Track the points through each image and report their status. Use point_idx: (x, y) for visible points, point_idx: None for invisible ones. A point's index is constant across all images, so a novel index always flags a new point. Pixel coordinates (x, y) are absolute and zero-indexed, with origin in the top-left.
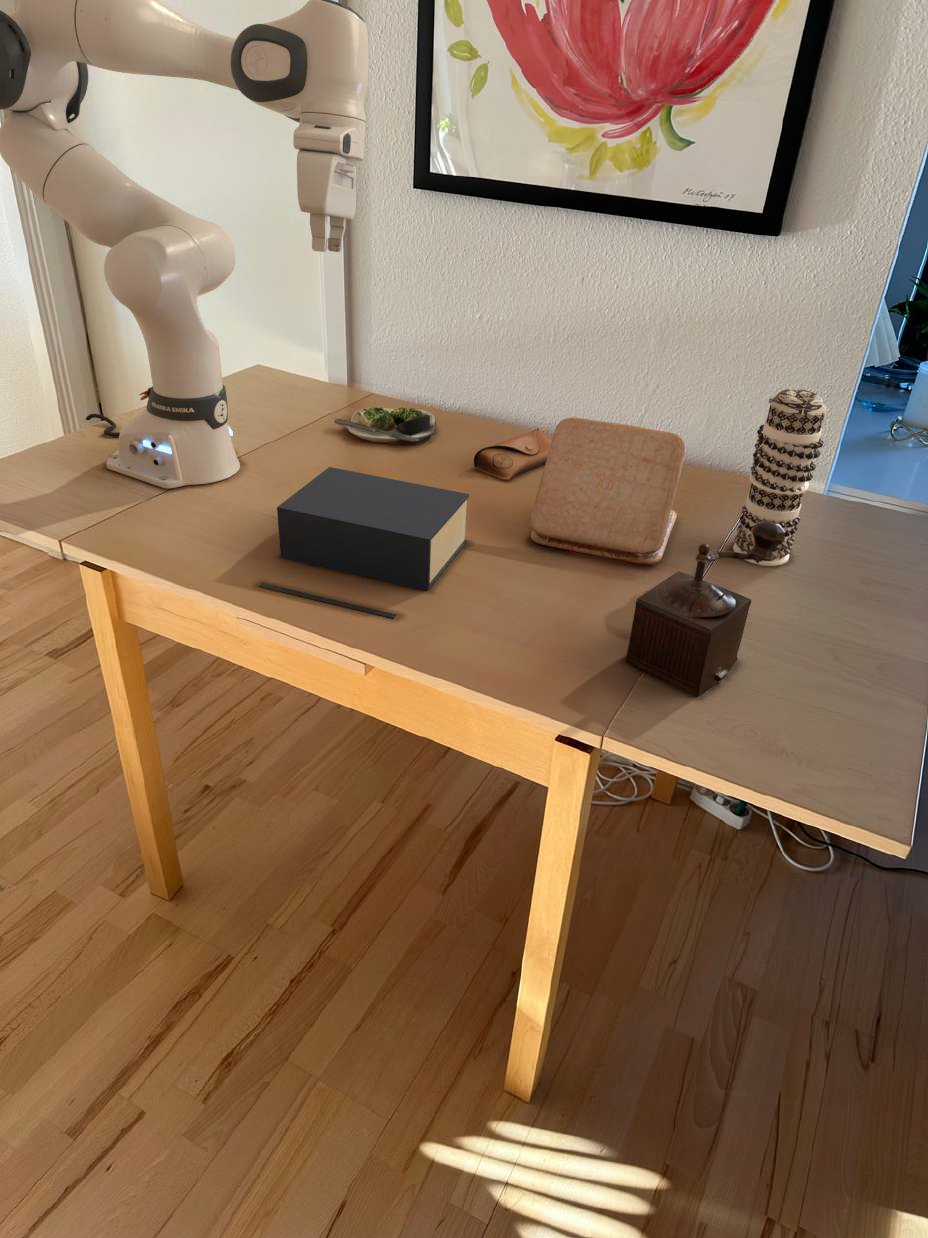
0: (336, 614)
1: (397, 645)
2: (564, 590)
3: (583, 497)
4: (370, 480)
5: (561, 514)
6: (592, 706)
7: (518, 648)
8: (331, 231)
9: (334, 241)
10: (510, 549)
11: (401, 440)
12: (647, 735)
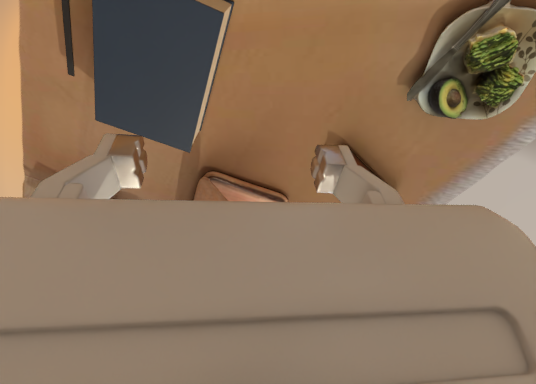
0: (51, 26)
1: (37, 77)
2: (151, 178)
3: None
4: (196, 67)
5: (205, 199)
6: (42, 173)
7: (75, 148)
8: (358, 181)
9: (321, 173)
10: (197, 156)
11: (416, 81)
12: (34, 190)
